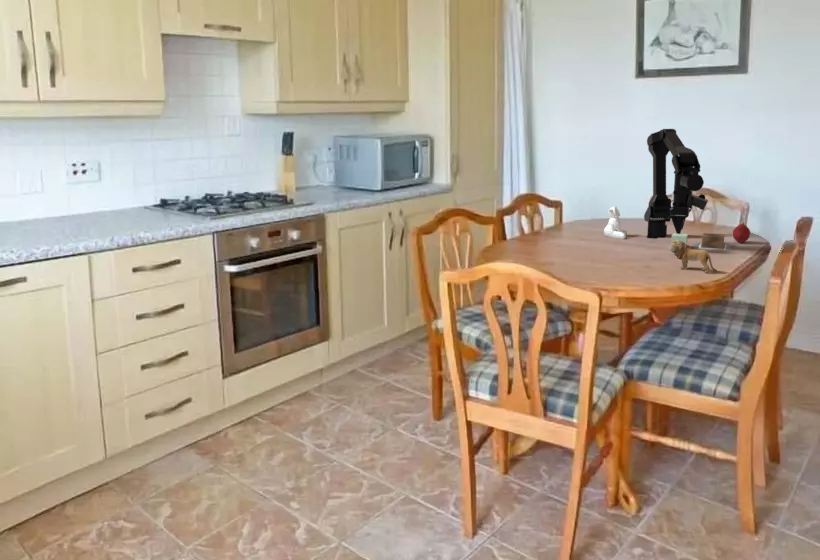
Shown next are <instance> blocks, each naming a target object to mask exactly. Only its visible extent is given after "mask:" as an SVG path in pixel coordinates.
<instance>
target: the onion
mask: <svg viewBox="0 0 820 560" xmlns="http://www.w3.org/2000/svg"><path fill="white" fill-rule="evenodd" d="M750 236H751V230H750V228H749V227H748V226H747V225H746V224H745V222H744V221H742V222H740V224H739V225H737V226H736V227H734V229H733V231H732V238H733V239H734V240H735V242H737V243H738V244H743V243H746V242H747V241H748V240H749V238H750Z"/></svg>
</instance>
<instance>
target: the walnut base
mask: <svg viewBox="0 0 820 560" xmlns="http://www.w3.org/2000/svg"><path fill="white" fill-rule="evenodd" d="M701 243H702V248H716V249H723V246H724V244H725V233H724V234H723V233H710V232H709V233H708V232H704V233H703V234H702V239H701Z"/></svg>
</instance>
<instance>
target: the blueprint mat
mask: <svg viewBox="0 0 820 560" xmlns="http://www.w3.org/2000/svg"><path fill="white" fill-rule="evenodd" d="M693 250H706V251H707V250H709V251H710V250H711V251H723V252H724V251H726V252H727V251H728V252H731V251H732V244H731V243H724V246H723V249H716V248H702V242H695V244H694V247H693Z"/></svg>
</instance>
